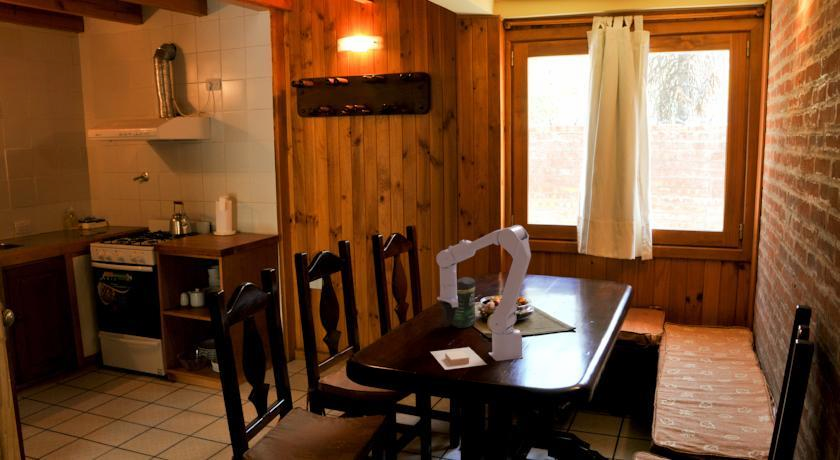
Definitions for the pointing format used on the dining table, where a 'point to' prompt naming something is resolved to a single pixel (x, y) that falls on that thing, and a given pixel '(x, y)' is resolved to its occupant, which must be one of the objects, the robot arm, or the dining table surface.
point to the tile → (456, 357)
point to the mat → (473, 361)
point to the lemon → (488, 323)
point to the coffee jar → (465, 303)
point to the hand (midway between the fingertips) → (449, 322)
